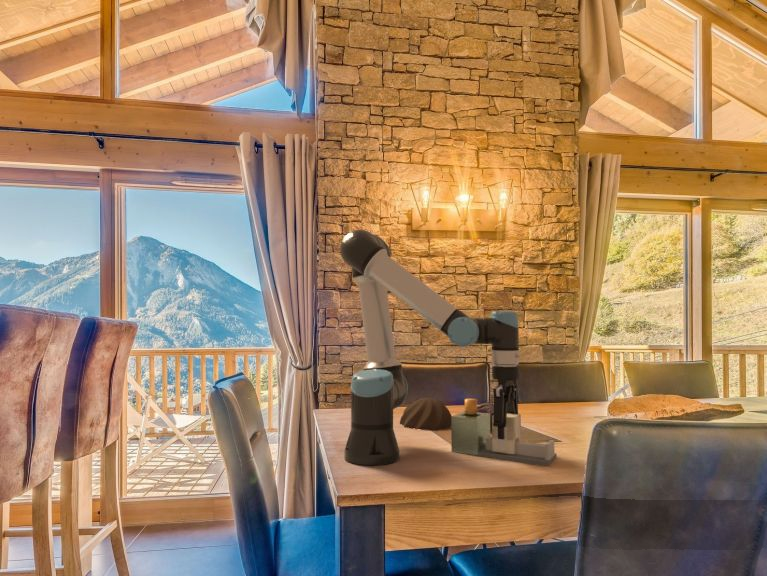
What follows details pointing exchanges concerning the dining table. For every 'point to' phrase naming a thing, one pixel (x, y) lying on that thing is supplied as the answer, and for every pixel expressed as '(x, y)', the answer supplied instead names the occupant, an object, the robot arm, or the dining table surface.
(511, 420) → the block
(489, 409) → the rock
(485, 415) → the green square holder
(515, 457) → the grey slide base
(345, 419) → the dining table surface
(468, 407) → the orange rounded piece
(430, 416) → the decorative dome
